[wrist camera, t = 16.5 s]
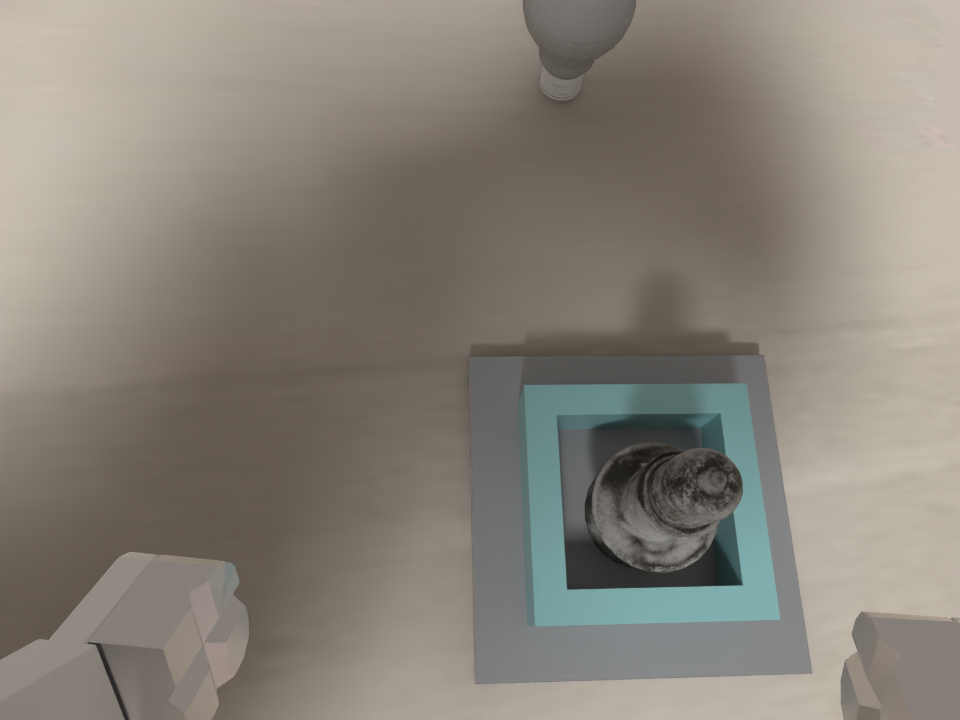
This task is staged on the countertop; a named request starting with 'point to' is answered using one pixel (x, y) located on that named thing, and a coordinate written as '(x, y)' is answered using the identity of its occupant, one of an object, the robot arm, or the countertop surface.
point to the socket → (573, 554)
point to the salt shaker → (661, 504)
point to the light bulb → (574, 38)
